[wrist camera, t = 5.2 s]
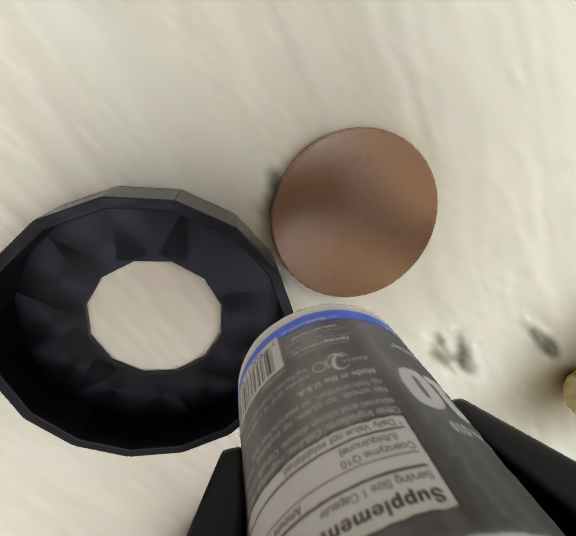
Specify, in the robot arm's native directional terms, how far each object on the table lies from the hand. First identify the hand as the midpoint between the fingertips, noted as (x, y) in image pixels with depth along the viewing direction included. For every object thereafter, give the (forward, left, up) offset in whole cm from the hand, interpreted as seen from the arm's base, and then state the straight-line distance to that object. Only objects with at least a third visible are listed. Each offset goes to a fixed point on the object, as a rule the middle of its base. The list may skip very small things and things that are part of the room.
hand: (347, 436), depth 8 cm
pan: (-4, +10, -12) cm, 16 cm away
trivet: (+2, -4, -12) cm, 13 cm away
